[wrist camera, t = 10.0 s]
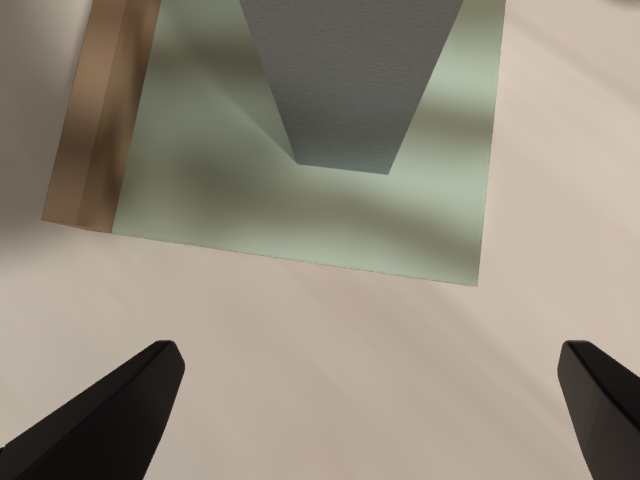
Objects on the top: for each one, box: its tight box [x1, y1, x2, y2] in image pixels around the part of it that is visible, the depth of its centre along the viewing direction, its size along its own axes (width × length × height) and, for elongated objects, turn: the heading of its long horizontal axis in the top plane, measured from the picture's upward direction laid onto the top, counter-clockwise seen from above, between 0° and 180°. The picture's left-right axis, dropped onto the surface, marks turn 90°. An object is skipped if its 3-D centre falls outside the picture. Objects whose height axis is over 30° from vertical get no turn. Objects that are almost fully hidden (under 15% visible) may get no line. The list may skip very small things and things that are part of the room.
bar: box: [239, 0, 464, 175], centre depth 12 cm, size 4×4×13 cm
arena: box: [41, 0, 506, 286], centre depth 18 cm, size 20×20×3 cm
